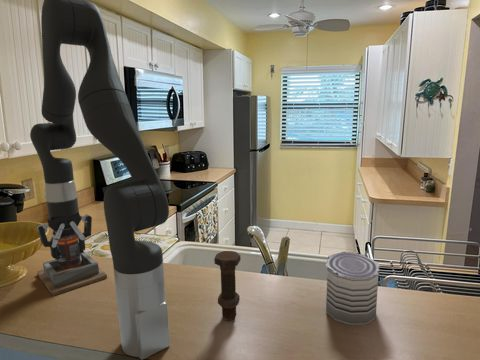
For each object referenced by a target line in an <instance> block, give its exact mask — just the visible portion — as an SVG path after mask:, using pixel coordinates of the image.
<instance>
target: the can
mask: <svg viewBox="0 0 480 360" xmlns="http://www.w3.org/2000/svg"><path fill="white" fill-rule="evenodd" d="M325 266H326V267H327V268H326V300H325V306H326V307H325V313H326V314H328V316H330V317H331V318H332V319H333V320H334V321H336V322H339V323H342V324H346V325H348V326H367V325H368V324H370V323H371V322H373V321H374V320H376V317H377V305H378V303H377V302H378V287H379V275H380V263H378V262H377V261H375V260H374V259H372V258H370V257H369V256H367V255H365V254H362V253H355V252H349V251H341V252H339V253H335V254H331V255H328V257H327V260H326V264H325Z"/></svg>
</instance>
